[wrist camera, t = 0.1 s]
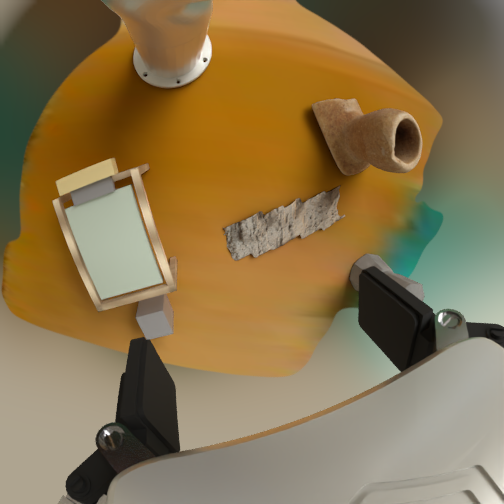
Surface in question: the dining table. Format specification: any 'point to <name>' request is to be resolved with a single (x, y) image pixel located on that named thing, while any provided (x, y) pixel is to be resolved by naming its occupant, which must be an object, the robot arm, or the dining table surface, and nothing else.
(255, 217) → the stone fragment
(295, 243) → the dining table surface
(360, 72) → the dining table surface
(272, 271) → the dining table surface
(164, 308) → the granite block
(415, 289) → the coffeepot
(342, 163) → the stone cup
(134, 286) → the trapdoor
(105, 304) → the trapdoor frame
